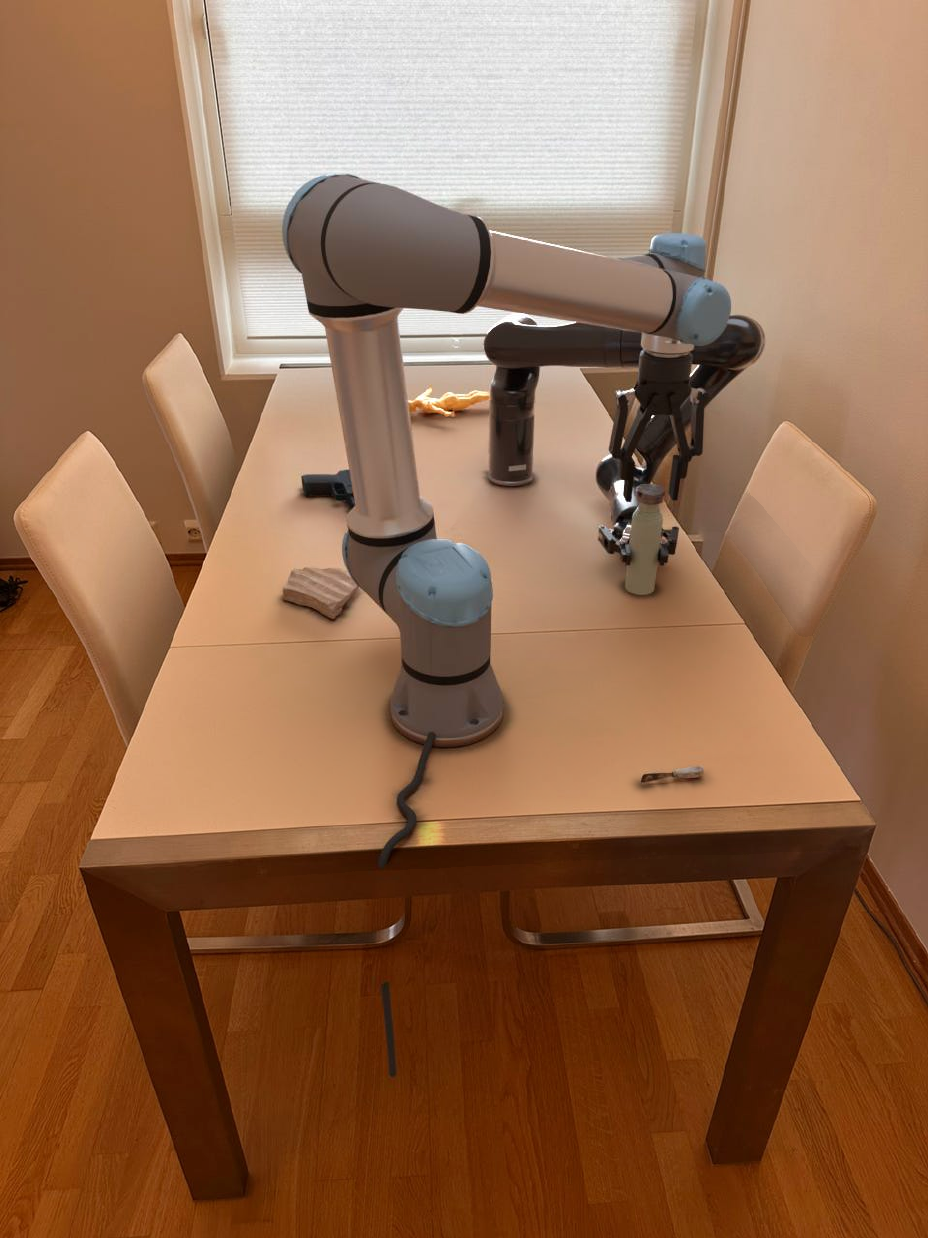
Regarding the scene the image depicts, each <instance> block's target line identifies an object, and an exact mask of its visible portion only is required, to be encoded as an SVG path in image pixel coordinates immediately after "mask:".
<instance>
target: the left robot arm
mask: <svg viewBox="0 0 928 1238" xmlns="http://www.w3.org/2000/svg"><path fill="white" fill-rule="evenodd" d="M281 235H282V236H281V237H282V243H283V247H284V250H285V252H286V254H287V257H288V258H289V260H290V262H291V264H292V266H293V267H294V268H295V270H296V271H297V272H298V273H299V274H301V279H302V283H303V289H304V295H305V299H306V305H307V310H308V314H309V316H311V317H312V318H313V319H315V320H317V322H319V323H320V324H322V326H323V327H324V331H325V337H326V343H327V348H328V349H327V350H328V354H329V360H330V365H331V366H330V367H331V373H332V377H333V383H334V389H335V396H336V401H337V406H338V412H339V417H340V424H341V430H342V435H343V441H344V447H345V454H346V458H347V464H348V470H349V471H350V477H351V482H352V488H353V494H354V500H355V506H354V508H353V509H352V510H351V509H350V511H349V512H348V514H347V516H346V526H347V531H346V532H344V534H343V538H342V543H341V557H342V560H343V563H344V566H345V568H346V571H348V572H349V574H350V576H351V578H352V579H353V581H354V582H355V583H356V584H357V585H358V586H359V587H358V588H359V589H361V590H362V591H363V592H364V593H365V594H366V595H368V597H369V598H370V599H371V600H372V601H373V602H374V603H375V604H376V605H377V606H378V607H379V608H380V609H381V610H382V612H384V613H385V614H386V615H387V616H388V617H389V618H390V619H391V620H392V622H394V624H396V626H397V628H398V631H399V633H400V634H399V635H400V652H401V653H400V655H401V667H400V669H399V672H398V675H397V678H396V681H395V684H394V687H393V690H392V693H391V696H390V704H389V705H390V718H391V721H392V724H393V725H394V727H395V728H396V729H397V731H398V732H399V733H400V734H402V735H403V736H404V737H406V738H407V739H409V740H411V741H413V742H415V743H417V744H420V745H421V744H422V745H423V747H422V750H421V754H420V756H419V759H418V763H417V766H416V770H415V773H414V775H413V778H412V780H411V781H410V783H409V784H408V785H407V786H405V787H404V788H402V789H401V790H400V791H399V793H398V794H397V796H396V805H397V807H398V809H399V810H400V811H401V812H402V814H404V815H405V817H406V818H407V822H406V825H405V826H404V827H403V828H402V829H400V830H399V831H397V832H396V833H395V834H394V835H392V836H391V837H390V838H389V839H388V840H387V842H386V843H385V844H384V845H383V848H382V849H381V852H380V855H379V858H378V861H377V867H378V868H379V869H382V868H385V867H386V866H387V865H388V861H389V858H390V856H391V853H392V852H393V849H394V848H395V847H396V846H397V845H398V844H399V843H400V842H402V841H403V840H404V839H405V838H407V837H408V836H410V834H412V832H413V831H414V829H416V825H417V815H416V813H415V811H414V810H413V809H412V808H411V807H410V806H409V805H408V803H407V802H406V799H407V797H409V796H410V795H411V794H412V793H413V792H414V791H415V790H417V789H418V787H419V786H420V784H421V782H422V780H423V777H424V774H425V771H426V767H427V763H428V760H429V757H430V754H431V751H432V748H433V747H437V748H454V747H455V748H457V747H463V746H467V745H471V744H473V743H476V742H480V741H481V740H483V739H485V738H486V737H488V736H489V735H491V734H492V733H493V732H494V731H495V730H496V729H498V727H499V726H500V724H501V722H502V720H503V717H504V697H503V693H502V690H501V687H500V685H499V682H498V679H497V677H496V674H495V672H494V668H493V666H492V664H491V654H492V653H491V651H492V649H491V648H492V647H491V645H492V602H493V599H494V590H493V589H494V588H493V583H492V574H491V568H490V565H489V563H488V561H487V560H486V558H485V557H484V556H483V555H482V554H481V553H480V552H479V551H478V550H476V549H475V548H474V547H472V546H470V545H468V544H466V543H464V542H458V543H454V540H452V539H446V538H445V539H443V538H437V531H436V522H435V521H436V520H435V513H434V507H433V505H432V504H431V503H430V502H429V501H428V500H427V499H425V498H424V497H421V494H420V487H419V478H418V469H417V462H416V455H415V446H414V445H415V444H414V439H413V437H414V436H413V429H412V422H411V421H412V420H411V415H410V414H411V413H410V412H409V405H408V400H409V399H408V398H409V397H408V389H407V381H406V373H405V365H404V357H403V350H402V349H403V348H402V341H401V333H400V326H399V315H400V314H401V313H402V312H403V310H404V309H412V310H425V311H435V312H447V313H453V314H458V315H466V314H469V313H470V312H472V311H474V310H475V308H477V307H480V308H485V309H492V310H499V311H504V312H510V313H515V314H517V313H520V314H525V315H528V316H529V315H530V316H536V317H542V318H548V319H554V320H559V321H566V322H571V323H573V322H578V323H585V324H591V325H597V326H603V327H609V328H616V329H622V330H628V331H634V332H641V333H642V339H641V347H642V348H643V350H642V351H641V352H640V359H639V368H637V370H638V371H637V379H636V382H635V384H634V385H633V388H631V389H627V390H622V389H617V390H616V391H615V393H614V396H615V397H614V398H615V402H616V408H615V412H614V418H613V424H612V427H611V428H612V429H611V434H610V439H609V446H608V452H609V455H610V454H611V456H612V457H613V458H615V459H616V458H617V459H620V464H619V477H620V479H621V481H624V487H623V496H624V498H625V500H626V502H631V499H632V490H633V480H634V470H635V465H636V461H635V460H634V458H633V456H634V453H635V451H636V450H635V449H636V447H637V445H638V443H639V440H640V438H641V436H642V434H643V432H644V430H645V428H646V425H647V423H648V422H649V421H650V420H651V418H652V416H656V415H660V414H664V415H669V416H670V419H671V423H672V427H673V431H674V436H675V440H676V447H677V452H678V454H672V460H671V461H672V462H671V470H670V476H669V484H668V493H667V495H668V496H669V497H670V498H671V500H672V501H674V502H675V501H678V499H679V493H680V486H681V485H680V484H681V480H682V479H686V478H687V475H688V469H689V468H688V467H689V463H690V462H691V461H692V459H693V457H695V456H696V457H700V456H701V455H702V454H703V452H704V451H703V449H704V426H705V425H704V424H705V410H704V408H705V405H706V403H707V400H708V398H709V394H708V393H707V392H706V391H705V390H704V389H703V388H698V389H695V388H691V385H690V375H691V374H692V367H693V364H692V360H693V355H692V353H691V352H690V351H692V350H693V349H694V345H696V346H704V345H708V344H710V343H712V342H713V341H715V340H716V339H717V338H718V337H719V336H720V335H721V334H722V332H723V331H724V329H725V328H726V326H727V321H728V320H729V316H730V315H732V299H731V296H730V293H729V291H728V290H727V288H726V287H725V286H724V285H723V284H721V283H719V282H717V281H713V280H710V278H708V277H705V273H706V257H707V243H706V241H705V239H704V238H703V237H702V236H700V235H697V234H693V233H684V232H668V233H667V232H666V233H660V234H657V235H655V236H653V237H652V239H651V243H650V248H648V253H645V254H642V255H633V256H623V257H610V256H606V255H601V254H596V253H592V252H587V251H583V250H578V249H574V248H571V247H566V246H561V245H556V244H552V243H548V242H543V241H539V240H535V239H529V238H526V237H520V236H516V235H512V234H507V233H503V232H498V231H493V230H490V228H489V225H488V224H487V223H486V222H485V220H484V219H482V218H481V217H479V216H477V215H470V214H468V213H467V214H466V213H463V212H460V211H458V210H457V211H456V210H453V209H450V208H448V207H445V206H442V205H440V204H438V203H435V202H432V201H430V200H428V199H425V198H423V197H421V196H419V195H417V194H414V193H412V192H409V191H407V190H405V189H402V188H400V187H398V186H394V185H390V184H387V183H380V182H378V181H377V182H376V181H373V180H368V179H363V178H362V177H359V176H357V175H354V174H350V173H343V174H342V173H341V174H337V173H333V174H323V175H320V176H317V177H315V178H312V179H310V180H309V181H307V182H305V183H304V184H303V185H302V186H300V187H299V188H298V189H297V190H296V192H295V193H294V195H293V196H292V197H291V199H290V201H288V204H287V206H286V208H285V211H284V214H283V218H282V226H281ZM689 396H690V401H691V402H692V410H691V427H690V442H689V443H690V444H688V440H687V435H686V433H685V430H684V426H683V422H682V414H681V410H680V406H681V405H682V404H683V403H684V402H685V400H686V399H687V398H688V397H689ZM634 398H636V399H637V401H638V403H639V406H638V408H637V411H636V416H635V418H634V419H633V422H632V423H631V424H632V425H631V427H630V429H629V431H628V433H627V434H626V435H627V436H626V437H625V439H624V436H625V429H626V424H627V420H628V414H629V407H630V406H631V405H632V403H633V400H634ZM705 409H706V408H705ZM623 440H624V442H623ZM380 988H381V1000H382V1010H383V1020H384V1029H385V1039H386V1049H387V1050H386V1051H387V1052H386V1053H387V1063H388V1074H389V1077H390V1078H394V1077H396V1076H397V1074H398V1073H397V1058H396V1045H395V1033H394V1023H393V1014H392V1013H393V1012H392V1001H391V990H390V981H386V982H383V983H381V984H380Z"/></svg>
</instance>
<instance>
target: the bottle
mask: <svg viewBox="0 0 928 1238" xmlns="http://www.w3.org/2000/svg"><path fill="white" fill-rule="evenodd" d="M663 523H664V516H663V513H662V510H661V508H660V504H656V505H647V504H643V503H640V502H639V506H638V507H637V509H636V510H635V512H634V513H633V516H632V524H631V534H630V543H629V547H630V551H631V563H630V565H626V572H625V583H624V588H625V590H626V591H627V592H628V593H630V594H633V595H637V596H646V595H650V594H652V593H654V591H655V586H656V579H657V569H658V564H659V562H658V555H659V547H660V539H661V531H662V528H663Z"/></svg>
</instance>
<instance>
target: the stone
mask: <svg viewBox="0 0 928 1238" xmlns="http://www.w3.org/2000/svg"><path fill="white" fill-rule="evenodd" d="M287 579H288V580H287V583H286V585H285V586H283V588H282V596H281V599H282V600H285V601H287V602H290V603H294V604H297V605H298V606H306V607H310V608H313V609H314V610H316V611H318V612H319V613H320V614H322V615H324V616H325V617H327V618H329V619H330V620H331V619H332V620H336V617H337V616H339V615H340V614H341V613H342V610H343V608H344V605H345V604H346V602H348V601H349V599H350V598H351V597H353V596H354V595H355V594H356V592H357V590H358V589H359V588H360V587H359V586H358V585H357V584H356V583H355V582H354V581H353V579H352V578H351V576H350V574H349V572H348V570H347V569H346V570H345V569H342V568H340V567H326V568H320V567H319V568H318V567H307V566H306V567H304V568H293V569H292V570H291V571H290V574H289V576H288V578H287Z"/></svg>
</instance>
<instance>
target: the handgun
mask: <svg viewBox="0 0 928 1238" xmlns="http://www.w3.org/2000/svg"><path fill="white" fill-rule="evenodd" d="M301 488H302V490H303V494H304V495H305V496H306V497H308V496H311V497H312V496H316V497H317V496H332V497H333V499H334V500H335V501H337V502H346V504H347V505H348V507H349V509H350V511H351V510H352V509H353V508H354V506H355V500H354V494H353V488H352V482H351V477H350V471H349V469H342V470H339V471H338V472H337V473H334V474H329V473H308V474H303V475H301Z"/></svg>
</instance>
